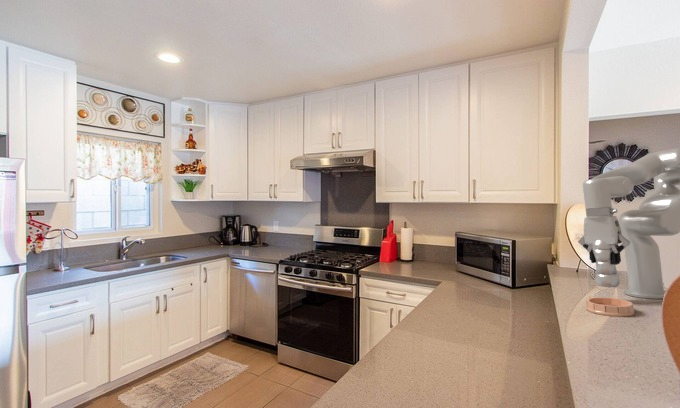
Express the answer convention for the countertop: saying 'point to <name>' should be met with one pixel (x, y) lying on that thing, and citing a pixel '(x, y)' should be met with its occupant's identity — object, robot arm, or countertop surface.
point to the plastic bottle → (605, 265)
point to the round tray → (609, 307)
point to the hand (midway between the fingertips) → (605, 262)
